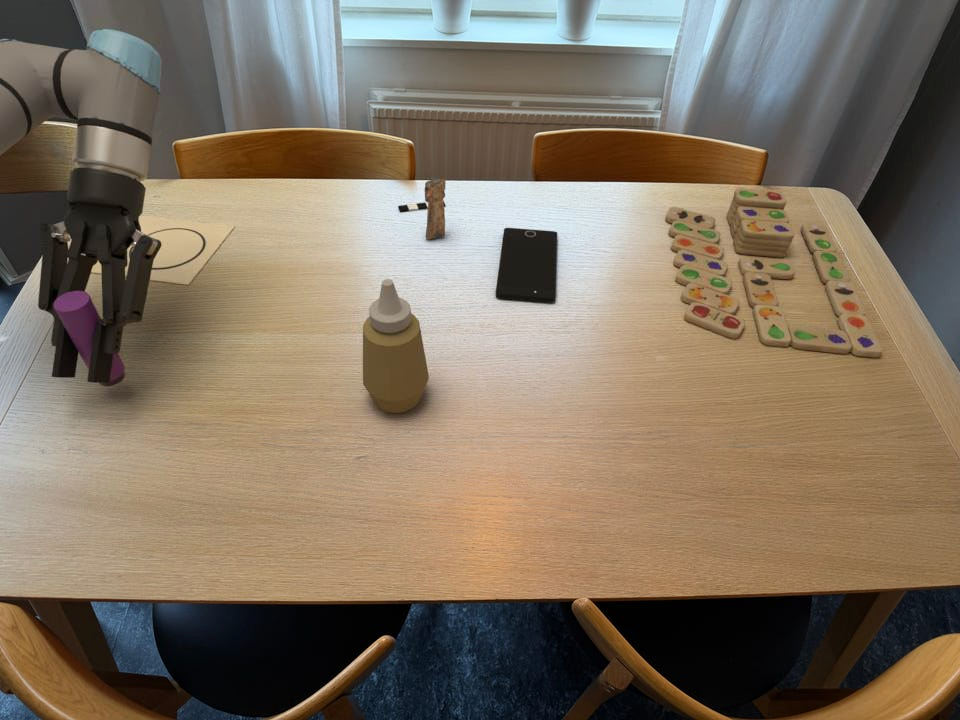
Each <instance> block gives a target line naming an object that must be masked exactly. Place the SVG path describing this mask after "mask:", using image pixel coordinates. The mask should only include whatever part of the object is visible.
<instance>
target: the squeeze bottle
mask: <svg viewBox="0 0 960 720" xmlns="http://www.w3.org/2000/svg"><path fill="white" fill-rule="evenodd" d="M378 297H379V298H377V299H376V300H374V301H373V302H371V303H370V306H369V308H368V312H369V313H368V315H369V316H368V317H367V318H366V319H365V321H364V323H363V324H362V385H363V386H364V388H365V389H366V391H367V393H368V394H369V395H370V397H371V399H372V400H373V401H374V403H375V405H376V406H377V407H378V408H379V409H380V410H382V411H383V412H386V413H391V414H402V413H406V412H408V411H411V410H413V409H414V408H415V407H416V406H417V405H418V404H419V403H420V400H421V398H422V396H423V393H424V391H425V389H426V386H427V384H428V382H429V379H430V376H429V375H430V374H429V369H428V364H427V358H426V352H425V348H424V347H425V346H424V341H423V336H422V330H421V326H420V325H421V324H420V320H419V319H418V318H417V316H416V315H415V314H414V313H412V308H411V304H410V303H409V302H408V301H407V300H406V299H404V298H402V297H399V295H398V292H397V289H396V285H395V284H394V281H393V280H392V279H391V278H386V279H383V280H382V281H381V286H380V292H379V296H378Z"/></svg>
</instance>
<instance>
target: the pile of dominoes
mask: <svg viewBox="0 0 960 720" xmlns="http://www.w3.org/2000/svg"><path fill="white" fill-rule="evenodd" d="M787 201H788V200H787V198H786V195H785V193H784V192H783V191H779V190H772V189H771V190H769V189H757V188H745V187H738V188H736V189H735V190H734V192H733V196H732V200H731V201H730V205H729V208H728V211H727V212H726V218H727V223H728V224H729V226H730V225H731V226H730V228H729V229H730V233H731V238H732V239H733V242H732V243H733V247H734V250H735V252H736V253H737V254H740V255H749V256H750V257H749V256H742V257H740V258H739V259H738V262H737V264H738V265H737V266H738V267H739V270H740V273H741V274H742V275H743V277H742V283H743V287H744V290H745V293H746V298H747V302H748V306H749V307H751V308H752V315H753V319H754V323H755V327H756V330H757V331H756V332H757V334H758V338H759V341H760V342H761V343H762V344H763V345H766V346H772V347H781V348H782V347H783V348H786V347H789V346H790V347H792V348H793V349H797V350H803V351H811V352H820V353H821V352H822V353H829V354H830V353H832V354H841V355H847V354H849V353H851V354H852V355H854V356H855V357H865V358H875V359H876V358H877V359H878V358H879V357H881V355H882V354H883V351H884V347H883V346H882V344H881V341H880V340H879V338H878V336H877V333H876V332H875V329H874V328H873V325H872V323H871V321H870V320H869V317H867V316H866V314H867V312H866V309H865V307H864V304H863V302H862V300H861V298H860V295H859V293H858V291H857V289H856V287H855V284H853V283H851V282H850V281H851V277H850V275H849V273H848V271H847V268H846V267H845V263H844V261H843V259H842V256H841V255H840V254H839V253H838V252H837V250H838V248H837V246H836V244H835V242H834V240H833V237H832V236H831V234H830V231H829V230H828V227H827V226H826V225H824V224H822V223H811V222H806V223H803V224H802V225H801V227H800V231H801V234H802V236H803V239H804V241H805V242H806V244H805V245H806V246H807V248H808V250H809V252H810V253H811V254H812V261H813V263H814V266H815V268H816V269H815V270H816V271H817V273H818V276H819V279H820V281H821V282H822V283H823V284H825V286H824V289H825V292H826V294H827V296H828V298H829V302H830V305H831V307H832V309H833V311H834V314H835V315H836V316H837V317H838V318H837V324H838V327H839V329H834V328H833V329H832V328H824V327H823V328H822V327H814V326H804V325H790V326H789V327H788V323H787V320H786V318H785V313H784V311H783V309H782V308H781V307H779V300H778V296H777V292H776V290H775V287H774V284H773V281H772V279H778V280H792V279H793V278H794V276H795V269H794V267H793V264H792V262H791V261H789V260H786V259H779V258H784V257H786V255H787V252H788V251H789V249H790V246H791V244H792V243H793V239H794V237H795V232H794V229H793V227H792V225H791V224H790V218H789V215H788V213H787V211H786V210H785V207H786V205H787ZM664 221H666V222H667V223H670V224H671V225H670V226H669V229H668V235H669V236H670V237H673V240H672V242H671V245H670V249H671V251H673V252H676V255H674V258H673V261H672V264H673V266H675V267H676V268H679V269H678V271H677V272H676V276H675V277H674V280H675V282H676V283H678V284H679V285H680V284H681V285H682V286H685V287H684V289H683V290H682V292H681V294H680V301H682V302H683V303H686V304H688V305H689V306H688V308H687V309H686V310H685V312H684V316H683V319H684V320H685V321H686V322H687V323H689V324H690V323H691V324H693V325H696V326H698V327H700V328H703V329H706V330H708V331H711V332H713V333H716V334H718V335H721V336H723V337H726V338H728V339H733V340H736V339H739V338H740V336H741V334H742V332H743V331H744V330H745V326H746V320H745V319H743V318H742V317H740V316H737V315H735V314H736V312H737V310H738V309H739V306H740V300H739V299H738V298H737V297H735V296H731V295H729V293H730V291H731V288H732V285H733V281H732V280H731V278H728V277H725V275H726V272H727V271H728V268H729V264H728V263H727V262H726V261H723V260H721V259H722V256H723V254H724V252H725V248H724V246H722V245H720V244H718V243H719V241H720V238H721V235H722V233H721V231H719V230H716V229H714V226H715V224H716V221H717V220H716V218H715V217H713V216H712V215H707V214H704V213H701V212H696V211H693V210H689V209H685V208H681V207H678V206H671V207H669V209H668V210H667V212H666V214H665V218H664ZM751 256H761V257H751ZM764 257H765V258H764ZM767 257H771V258H767Z"/></svg>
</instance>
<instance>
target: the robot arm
mask: <svg viewBox="0 0 960 720" xmlns="http://www.w3.org/2000/svg"><path fill="white" fill-rule="evenodd" d="M85 48H86V49H77V48H76V49H72V48H71V49H69V48H62V47H56V46H49V45H44V44H36V43H29V42H24V41H20V40H17V39H10V38H1V39H0V156H3V154H4V153H5V152H7V151H8V150H9V149H10V148H11V147H13V146H14V145H15V144H17V143H18V142H19V141H21V140H23V139H24V138H25V137H27V136H28V135H29V134H31V133H32V132H33V131H35V130H36V129H37V128H39V126H41V125H42V124H44V123H45V122H46V121H48V120H49V119H52V118H58V119H64V120H65V119H66V120H73V121H77V124H76V125H77V126H76V131H75V137H74V144H73V149H72V157H71V163H72V164H73V165H74V166H75V168H73V169H71V170H70V173H69V178H68V179H69V180H68V187H67V194H66V198H67V201H68V203H69V209H68V211H67V213H66V215H64V218H63V221H60V222H57V223H54V224H49V223H48V222H47V223H46V222H43V223H41V224H40V226H39V233H40V236H41V240H42V254H41V266H40V267H41V268H40V279H39V288H38V289H39V291H38V299H37V301H38V302H37V306H38V309H39V310H41V311H44V312H46V313H48V314H50V315H51V316H52V317H53V325H52V333H51V340H50V343H51V346H52V347H55V349H54V356H53V364H52V371H51V377H52V378H56V379H57V378H58V379H59V378H66V379H67V378H68V379H69V378H71V379H73V378H76V373H77V367H78V359H79V358H78V357H79V352H78V350H77V348H76V347H75V345H74V343H73V341H72V339H71V337H70V336H69V334H68V332H67V330H66V328H65V327H64V325H63V323H62V321H61V319H60V318H59V316H58V314H57V312H56V310H55V309H54V306H53V304H54V302H55V300H56V299H57V298H58V297H60V296H61V295H63V294H65V293H68V292H72V291H84V292H86V289H87V287H88V283H89V280H90V276H91V274H92V273H91V271H92V267H93V266H94V265H95V264H96V263H97V262H98V261H99V263H100V264H101V272H102V274H101V298H102V299H101V300H102V302H101V303H102V318H101V319H98V320H99V322H100V323H101V324H104V325H101V324H95V330H94V337H93V344H92V351H91V358H90V365H89V370H88V373H87V381H86V382H87V383H93V384H96V383H97V384H99V383H109V382H110V375H111V368H112V361H113V354H119V353H120V351H121V345H122V338H123V331H124V328H125V327H126V326H127V325H130V324H134V323H136V324H138V323H141V322H142V320H143V317H144V310H145V306H146V301H147V296H148V290H149V285H150V281H151V280H150V276H151V271H152V266H153V260H154V258H155V257H156V255H157V253H158V251H159V250H160V248H161V246H162V244H161V241H160V240H157V239H155V238H152V237H149V236H147V235H146V234H144V233H143V232H141V227H140V224H139V216H140V215H142V214H143V210H144V204H145V197H146V190H147V189H146V187H145V185H144V183H142V182H145V181H146V180H147V179H148V173H149V166H150V159H151V151H152V145H153V144H152V143H153V132H154V127H155V121H156V115H157V110H158V109H157V108H158V104H159V97H160V95H161V94H162V90H161V78H162V58H161V56H160V54H159V52H158V51H157V50H156V49H155V48H154V47H153V46H152V45H151V44H150V43H148V42H147V41H145V40H143V39H141V38H139V37H138V36H135V35H132V34H129V33H127V32H124V31H120V30H116V29H111V28H110V29H109V28H103V29H101V30H100V29H97V30H94V31H92V32H91V34H90V36H89V39H88V43H86V47H85ZM68 242H69V243H68ZM69 244H70V245H69ZM131 245H132V247H133V251H132V253H131V257H130V261H129V266H128V271H127V276H126V277H125V267H127V265H128V259H127V249H128V248H129V247H130V246H131Z"/></svg>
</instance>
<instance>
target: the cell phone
mask: <svg viewBox="0 0 960 720" xmlns="http://www.w3.org/2000/svg"><path fill="white" fill-rule="evenodd" d="M557 261H558V232H557V231H554V230H545V229H529V228H517V227H505V228H504V229H503V235H502V243H501V249H500V257H499V264H498V272H497V278H496V289H495V297H496V298H497V299H501V300H511V301H512V300H515V301H516V300H517V301H525V302H537V303H554V302H555V301H556V299H557V267H558V266H557V264H558V263H557Z"/></svg>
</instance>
